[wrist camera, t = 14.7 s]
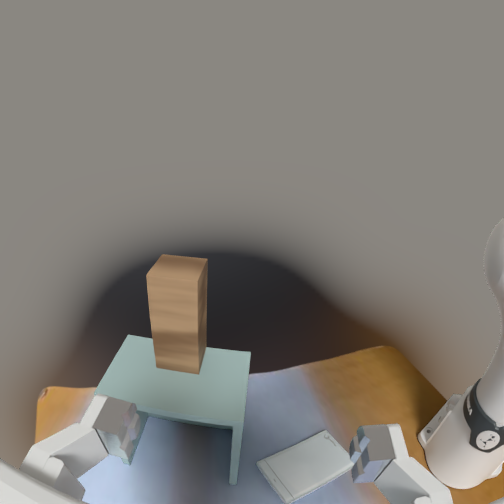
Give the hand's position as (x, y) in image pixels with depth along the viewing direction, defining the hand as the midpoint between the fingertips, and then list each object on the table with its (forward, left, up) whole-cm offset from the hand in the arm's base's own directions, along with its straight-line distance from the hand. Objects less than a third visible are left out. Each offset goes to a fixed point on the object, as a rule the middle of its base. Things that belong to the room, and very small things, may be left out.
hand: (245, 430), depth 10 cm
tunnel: (-8, -18, -32) cm, 38 cm away
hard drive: (-19, -4, -33) cm, 38 cm away
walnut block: (-10, -20, -16) cm, 28 cm away
